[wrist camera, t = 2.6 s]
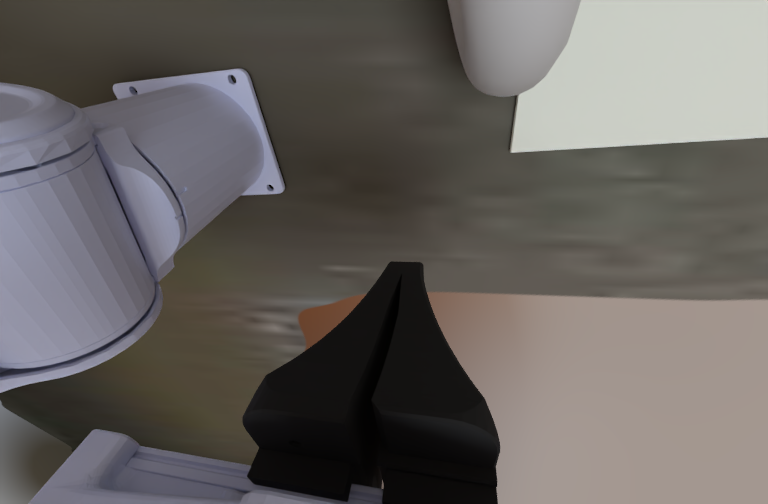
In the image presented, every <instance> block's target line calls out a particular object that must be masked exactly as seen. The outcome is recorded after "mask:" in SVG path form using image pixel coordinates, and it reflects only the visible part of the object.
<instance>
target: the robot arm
mask: <svg viewBox="0 0 768 504" xmlns="http://www.w3.org/2000/svg"><path fill="white" fill-rule="evenodd" d="M231 75H233V76H234V77H235V78H236V83H234V82H233V81H232V79H231ZM134 88H135V89H136V90H137V93H136V92H135V90H134ZM113 91H114V94H115V95H116V97H117V99H118V100H114V101H110V102H106V103H102V104H98V105H94V106H89V107H85V108H81V109H80V108H79V107H77V106H75V105H73V104H71V103H69V102H66V101H63V100H62V99H60V98H58V97H56V96H54V95H52V94H51V93H48V92H46V91H43V90H40V89H37V88H33V87H28V86H23V85H16V84H9V83H0V393H1V392H4V391H7V390H9V389H12V388H16V387H19V386H23V385H27V384H31V383H36V382H41V381H47V380H52V379H57V378H62V377H65V376H69V375H72V374H75V373H79V372H81V371H84V370H86V369H89V368H92V367H94V366H96V365H98V364H100V363H102V362H104V361H107V360H109V359H111V358H112V357H114V356H116V355H117V354H119V353H120V352H122V351H124V350H125V349H127V348H128V347H129V346H131V345H132V344H133V343H135V342H136V341H137V340H138V339H139V338H140V337H142V336H143V335H144V334H145V333H146V332H147V331H148V330H149V328H150V327H151V326H152V325H153V323H154V322H155V320H156V319H157V317H158V315H159V313H160V311H161V308H162V302H163V295H162V290H161V288H160V285H159V284H158V283H157V282H159V281H160V280H161V279H162V278H163V277H164V276H165V275H166V274H167V273H168V272H170V271H171V270H172V269H173V268H174V263H173V257H174V254H175V253H176V252H177V250H179V249H180V248H181V247H182V246H183V245H185V244H186V243H187V242H188V241H189V240H190V239H191V238H192V237H194V236H195V235H196V234H197V233H198V232H199V231H200V230H202V229H203V228H204V227H205V226H206V225H207V224H208V223H210V222H211V221H212V220H213V219H214V218H215V217H216V216H217V215H219V214H220V213H221V212H222V211H223V210H224V209H225V208H227V207H228V206H229V205H230V204H231V203H232V202H233V201H234V200H236V199H237V198H238V197H239V196H240V195H263V194H280V193H282V192H283V191H284V190H285V185H284V182H283V178H282V175H281V172H280V169H279V166H278V163H277V160H276V157H275V153H274V150H273V147H272V144H271V141H270V138H269V135H268V132H267V128H266V125H265V122H264V119H263V116H262V113H261V110H260V107H259V104H258V100H257V97H256V94H255V91H254V88H253V85H252V82H251V79H250V76H249V74H248V73H247V71H246V70H244V69H241V68H238V69H230V70H221V71H213V72H205V73H197V74H189V75H181V76H173V77H164V78H156V79H148V80H140V81H132V82H124V83H117V84H114V85H113ZM269 185H271V186H273V188H274V189H271V188H270V187H269ZM243 425H244V427H245V429H246V431H247V432H248V433H249V434H250V436H251V437H252V438H253V440H254V441H255V442H256V444H257V445H258V446H259V450H258V452H257V455H256V457H255V459H254V461H253V463H252V466H250V465H244V464H239V463H233V462H227V461H222V460H216V459H210V458H205V457H199V456H194V455H188V454H182V453H177V452H171V451H165V450H160V449H154V448H148V447H143V446H139V444H138V443H137V442H136V441H135V440H134V439H132V438H131V437H129V436H127V435H124V434H121V433H116V432H111V431H105V430H99V429H95V430H93V431H92V432H91V433H90V434H89V435H88V436H87V437H86V439H85V440H84V441H83V442H82V443H81V444H80V445H79V446H78V448H77V449H76V450H75V451H74V452H73V453H72V454H71V456H70V457H69V458H68V459H67V460H66V461H65V462H64V463H63V465H62V466H61V467H60V468H59V469H58V470H57V471H56V473H55V474H54V475H53V476H52V477H51V478H50V479H49V480H48V482H47V483H46V484H45V485H44V486H43V487H42V488H41V490H40V491H39V492H38V493H37V494H36V495H35V496H34V497H33V499H32V500H31V501H30V502H29V503H28V504H498V502H497V492H496V487H497V476H496V463H497V460H498V456H499V453H500V442H499V438H498V433H497V430H496V427H495V424H494V421H493V418H492V416H491V413H490V411H489V408H488V406H487V403H486V401H485V399H484V397H483V396H482V394H481V393H480V392H479V391H478V389H477V388H476V387H475V385H474V384H473V382H472V381H471V380H470V378H469V377H468V375H467V374H466V372H465V371H464V370H463V368H462V366H461V365H460V363H459V362H458V360H457V358H456V357H455V355H454V353H453V352H452V350H451V348H450V347H449V345H448V343H447V341H446V339H445V337H444V335H443V333H442V331H441V329H440V327H439V325H438V323H437V320H436V318H435V315H434V313H433V310H432V307H431V305H430V302H429V298H428V295H427V292H426V288H425V283H424V272H423V264H422V263H421V262H390V263H389V264H388V265H387V267H386V269H385V270H384V272H383V273H382V275H381V276H380V277H379V279H378V280H377V282H376V283H375V284H374V286H373V287H372V288H371V289H370V291H369V292H368V293H367V295H366V296H365V297H364V298H363V299H362V300H361V302H360V303H359V304H358V305H357V306H356V307H355V308H354V310H353V311H352V312H351V313H350V314H349V315H348V316H347V317H346V318H345V319H344V320H343V321H342V322H341V323H340V324H338V325H337V326H336V327H335V328H334V329H333V330H332V331H331V332H329V333H328V334H327V335H326V336H325V337H324V338H322V339H321V340H320V341H318V342H317V343H316V344H314V345H313V346H312V347H310V348H309V349H307V350H306V351H305V352H303V353H302V354H300V355H299V356H297V357H296V358H294V359H293V360H291V361H290V362H288V363H286V364H284V365H283V366H281V367H279V368H278V369H276V370H274V371H273V372H271V373H269V374H267V375H266V376H265V378H264V380H263V381H262V383H261V384H260V386H259V387H258V389H257V391H256V392H255V394H254V396H253V398H252V400H251V402H250V404H249V406H248V408H247V409H246V411H245V413H244V415H243ZM382 480H383V483H384V489H381V486H382Z"/></svg>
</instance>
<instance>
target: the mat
mask: <svg viewBox="0 0 768 504" xmlns="http://www.w3.org/2000/svg"><path fill="white" fill-rule="evenodd" d="M765 137H768V0H581V2H580V5H579V9H578V12H577V15H576V18H575V21H574V24H573V27H572V31H571V34H570V37H569V40H568V43H567V45H566V46H565V48H564V49H563V51H562V53H561V54H560V56H559V57H558V59H557V60H556V62H555V63H554V65H553V66H552V68H551V69H550V71H549V72H548V74H547V75H546V76H545V77H544V78H543V79H542V80H541V81H540V82H539V83H538V84H537V85H535V86H534V87H533V88H531V89H529V90H527V91H525V92H523V93H521V94H519V95H517V99H516V106H515V114H514V121H513V129H512V137H511V144H510V152H511V153H513V152H530V151H547V150H564V149H580V148H597V147H614V146H631V145H648V144H664V143H681V142H698V141H715V140H732V139H748V138H765Z"/></svg>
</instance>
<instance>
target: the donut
mask: <svg viewBox="0 0 768 504" xmlns="http://www.w3.org/2000/svg"><path fill="white" fill-rule="evenodd" d="M447 1H448V6H449V11H450V16H451V21H452V26H453V30H454V34H455V39H456V43H457V47H458V51H459V54H460V58H461V61H462V64H463V67H464V70H465V73H466V75H467V77H468V79H469V80H470V82H471V83H472V84H473V85H474V87H475V88H476V89H478V90H480V91H481V92H483V93H485V94H487V95H493V96H499V97H508V96H514V95H519V94H521V93H523V92H525V91H527V90H529V89H531V88H533V87H534V86H535V85H537V84H538V83H539V82H540V81H541V80H542V79H543V78H544V77H545V76H546V75H547V74H548V72H549V71H550V69H551V68H552V66H553V65H554V63H555V62H556V60H557V59H558V57H559V56H560V54H561V53H562V51H563V49H564V48H565V46H566V45H567V43H568V40H569V37H570V34H571V31H572V27H573V24H574V21H575V18H576V15H577V12H578V9H579V5H580V2H581V0H447Z"/></svg>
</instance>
